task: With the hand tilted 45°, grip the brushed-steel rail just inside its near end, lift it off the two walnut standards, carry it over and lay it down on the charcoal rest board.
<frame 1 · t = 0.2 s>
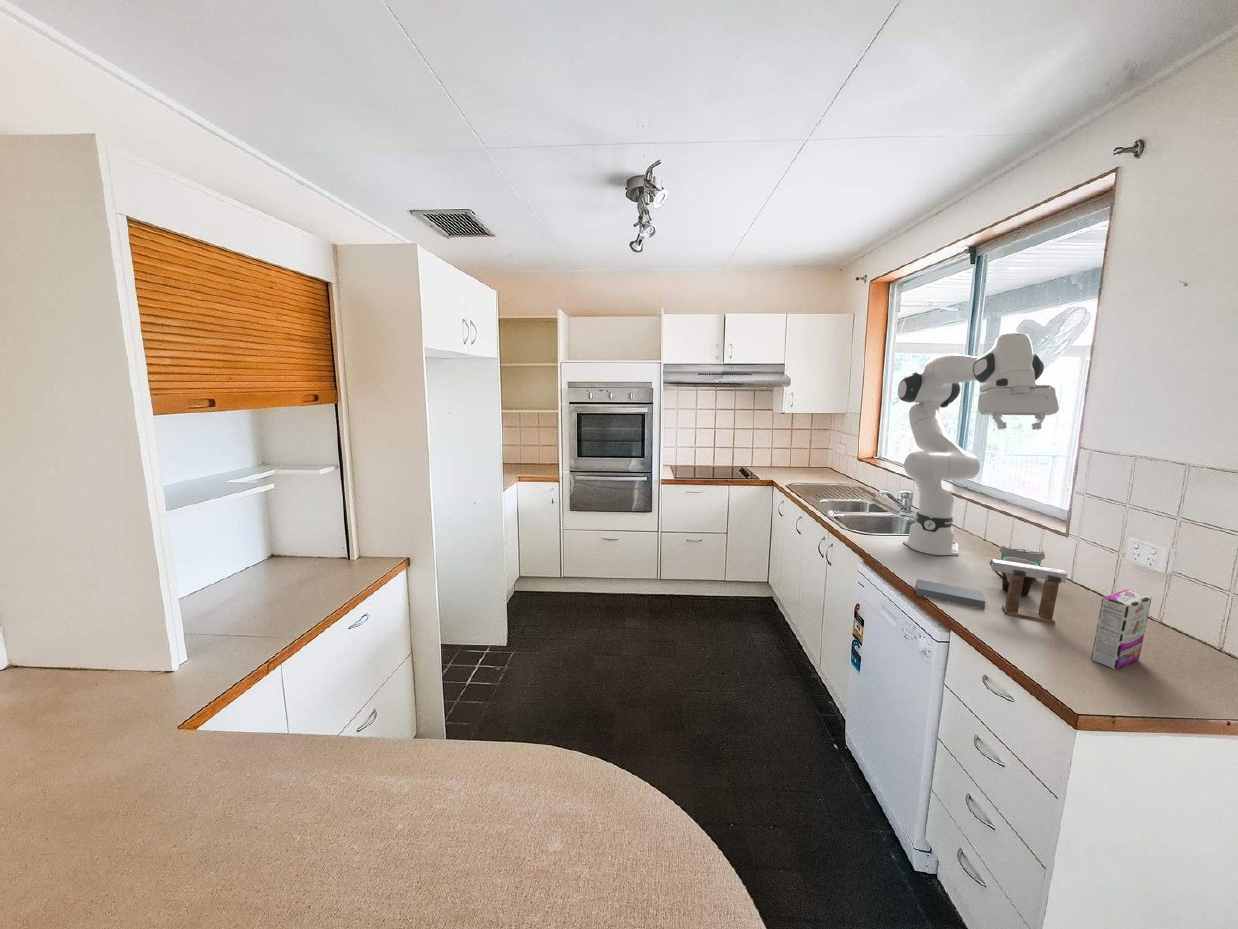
hand: (1019, 429, 145), 52 cm above the worktop, tool tilted 20°, fingers open, 8 cm apart
board: (948, 597, 149), on the worktop
food container: (1020, 579, 164), on the worktop
coffee mug: (1011, 590, 155), on the worktop
rail: (1026, 574, 137), point 12 cm above the worktop, touching standards
standards: (1027, 615, 138), on the worktop
candy bar box: (1113, 661, 117), on the worktop
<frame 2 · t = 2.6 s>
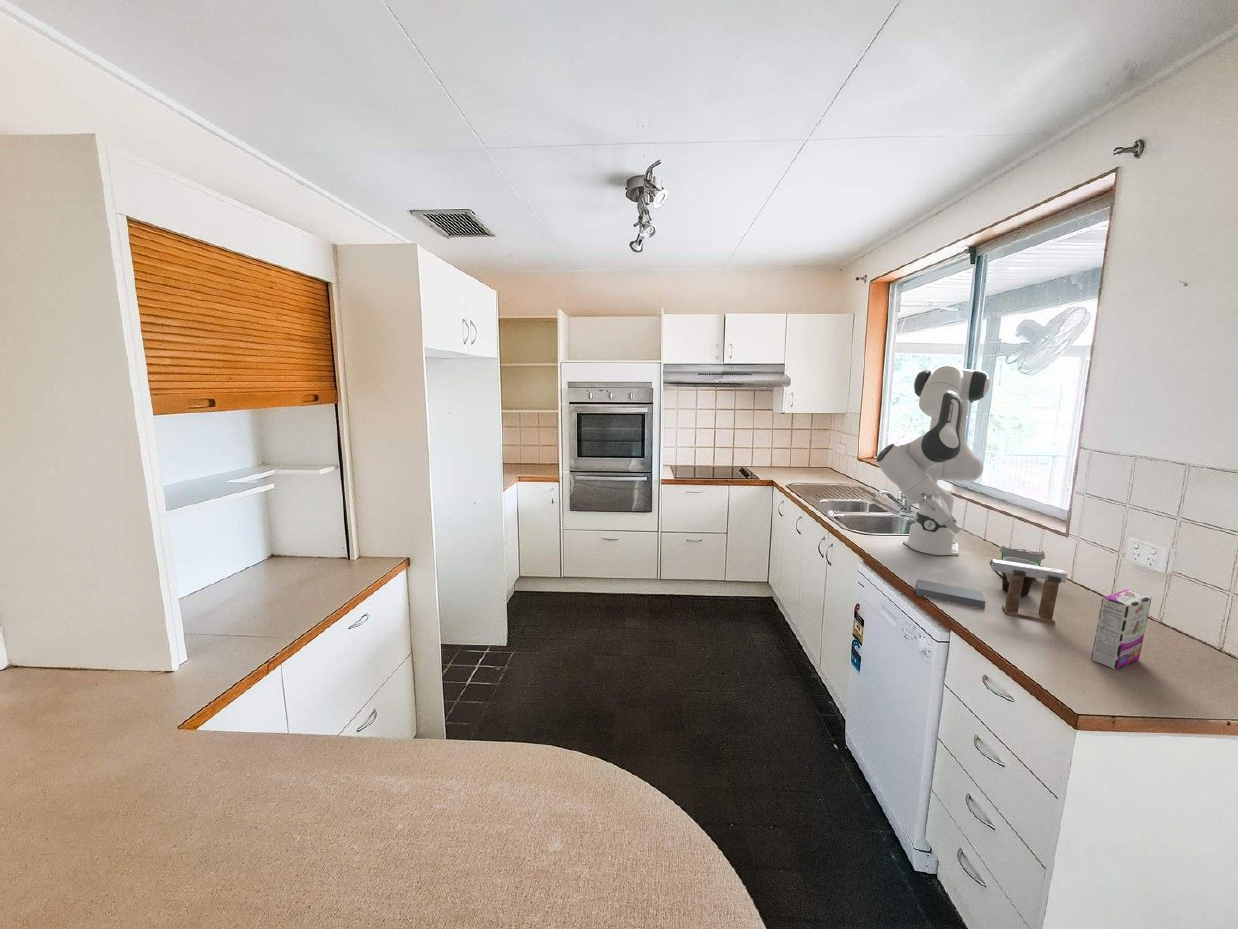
hand: (956, 527, 144), 23 cm above the worktop, tool tilted 45°, fingers open, 8 cm apart
nothing on the worktop moved.
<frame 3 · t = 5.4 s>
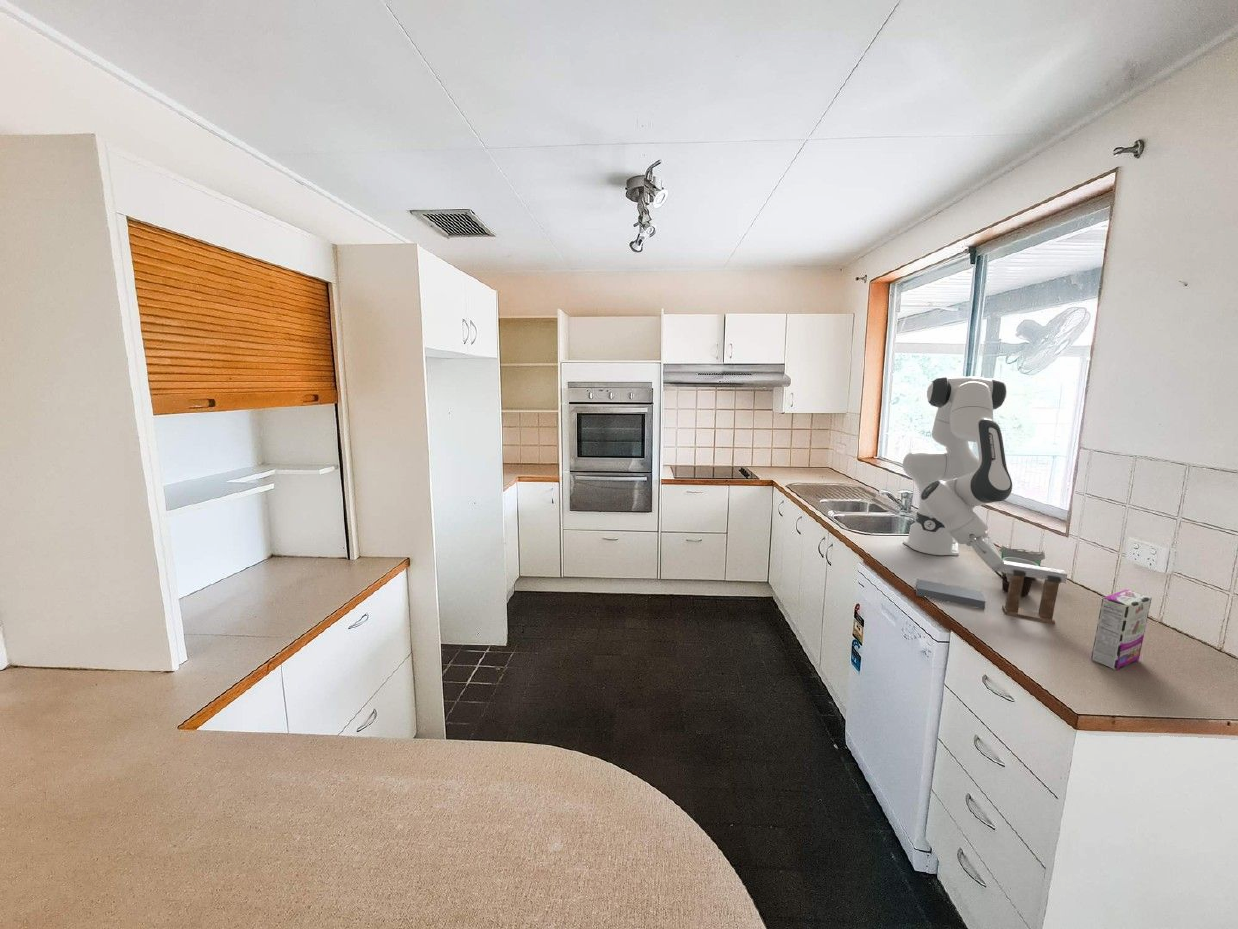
hand: (1005, 569, 139), 13 cm above the worktop, tool tilted 45°, fingers closed on rail, 3 cm apart
rail: (1026, 574, 137), point 12 cm above the worktop, touching gripper, standards
everything else where it was.
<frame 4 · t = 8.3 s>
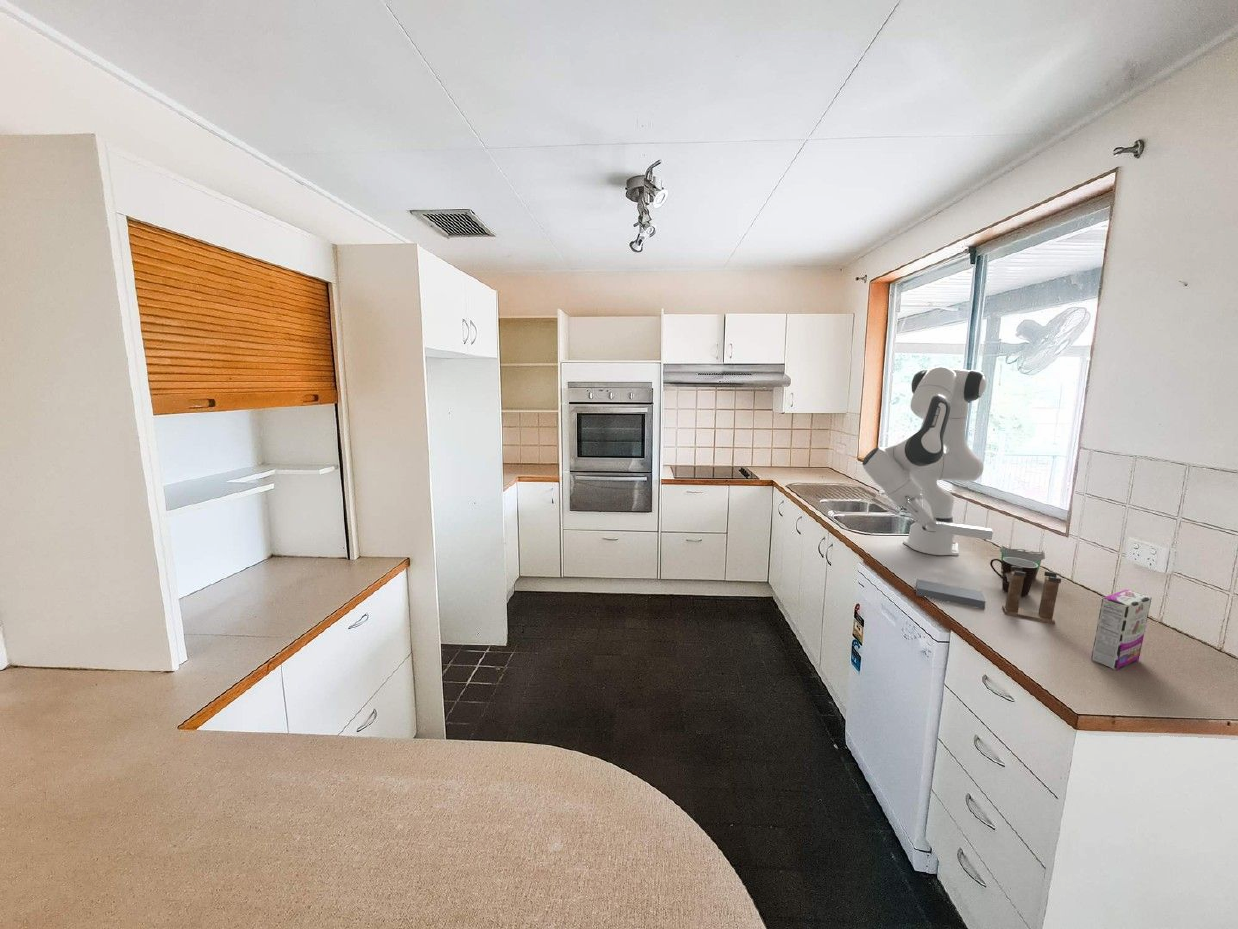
hand: (938, 528, 148), 21 cm above the worktop, tool tilted 45°, fingers closed on rail, 3 cm apart
rail: (957, 533, 146), point 20 cm above the worktop, touching gripper
everything else where it was.
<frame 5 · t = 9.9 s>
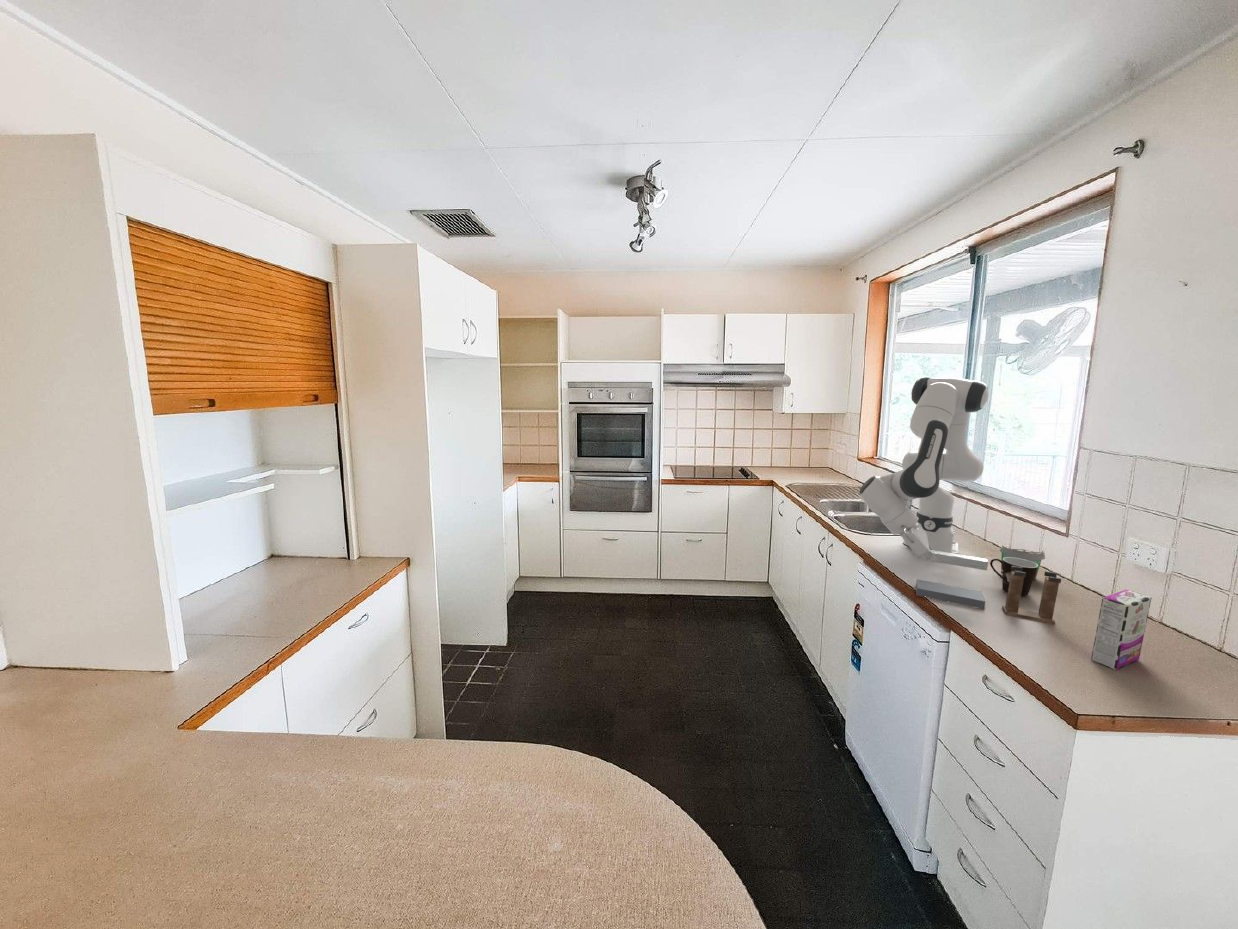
hand: (934, 558, 149), 12 cm above the worktop, tool tilted 45°, fingers closed on rail, 3 cm apart
rail: (953, 563, 147), point 11 cm above the worktop, touching gripper
everything else where it was.
when the fingers open (5 cm above the worktop, at t = 11.5 s): rail drops 1 cm, resting on board.
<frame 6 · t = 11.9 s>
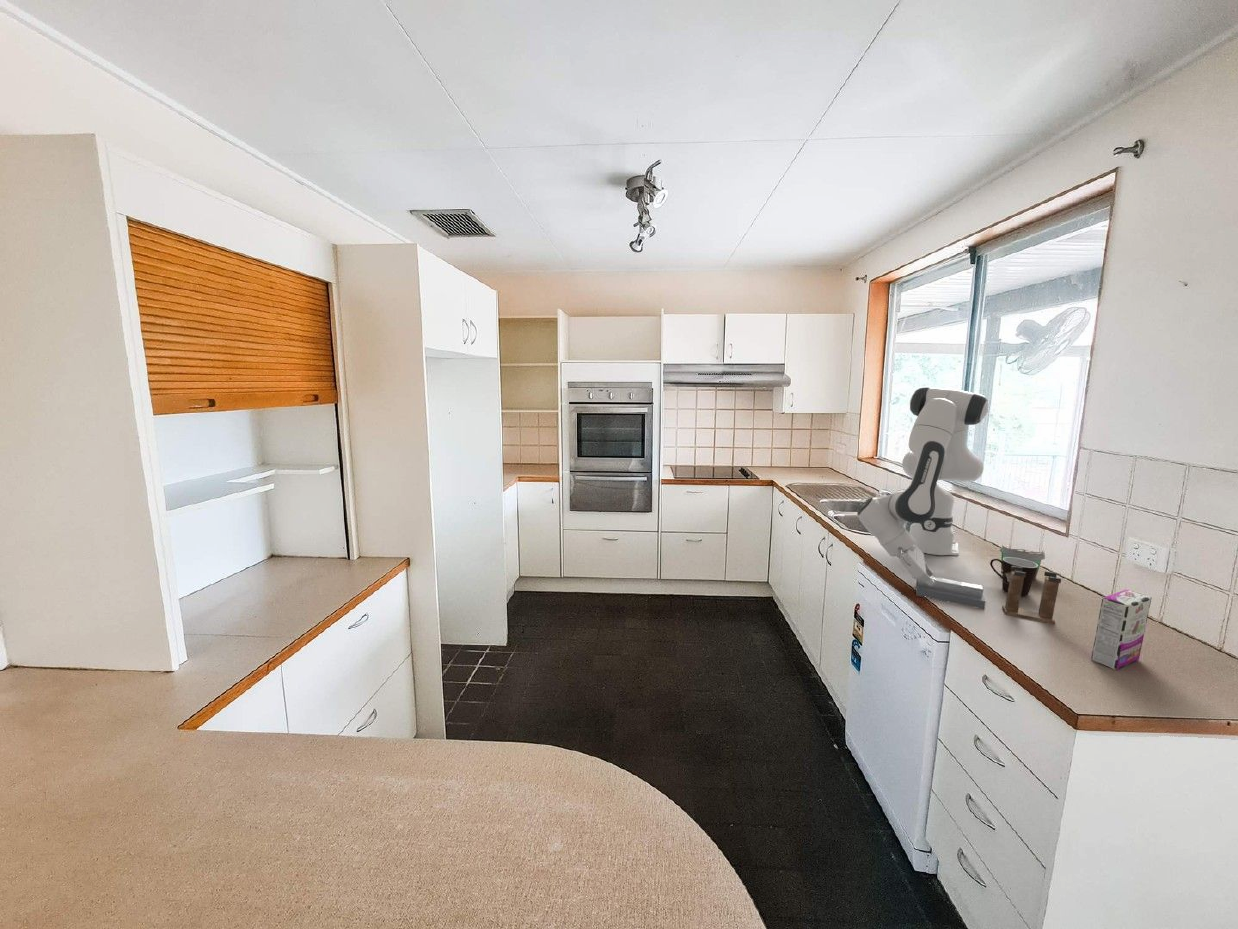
hand: (931, 579, 151), 5 cm above the worktop, tool tilted 45°, fingers open, 7 cm apart
rail: (949, 589, 149), point 2 cm above the worktop, touching board
everything else where it was.
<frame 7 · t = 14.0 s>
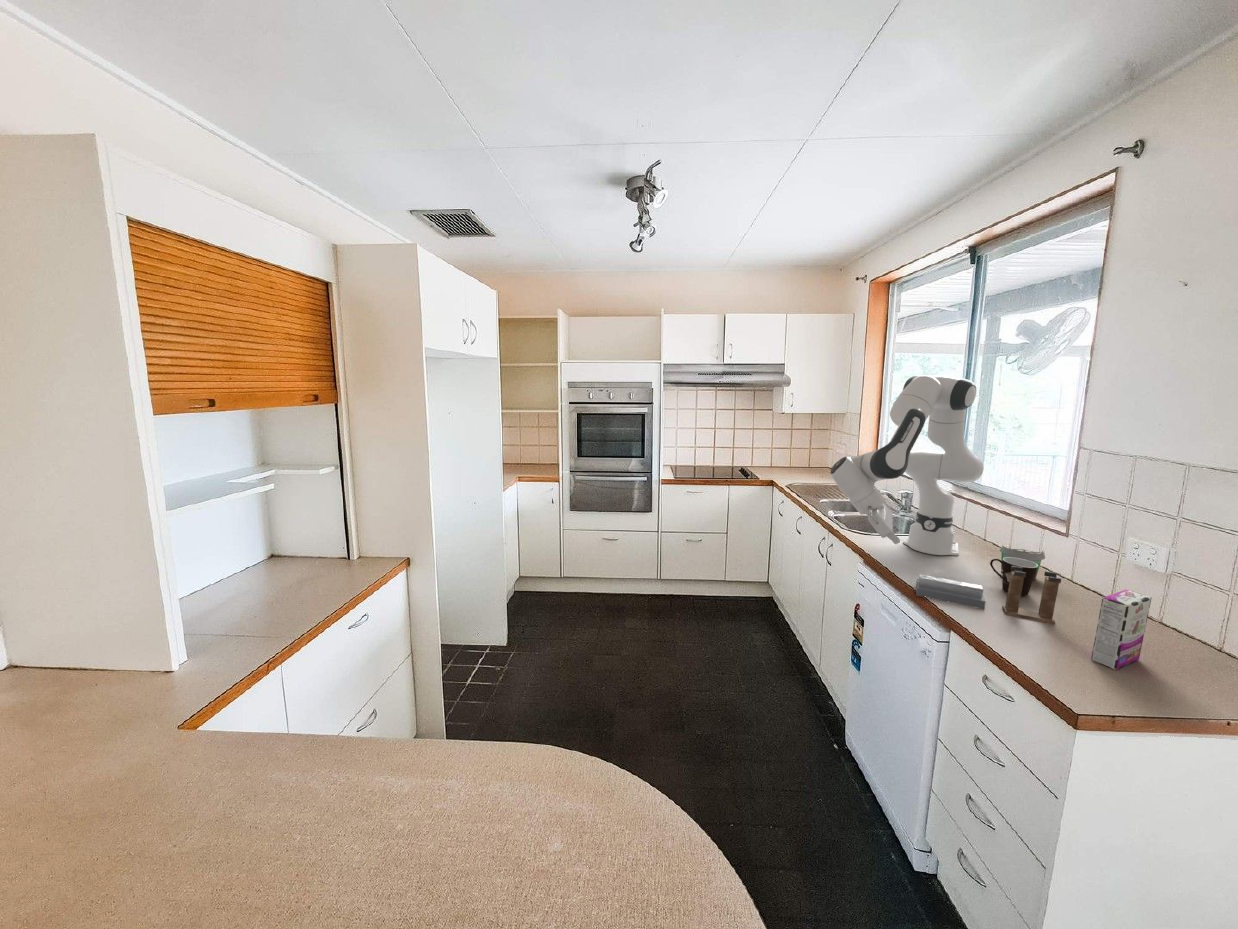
hand: (897, 537, 155), 16 cm above the worktop, tool tilted 40°, fingers open, 8 cm apart
nothing on the worktop moved.
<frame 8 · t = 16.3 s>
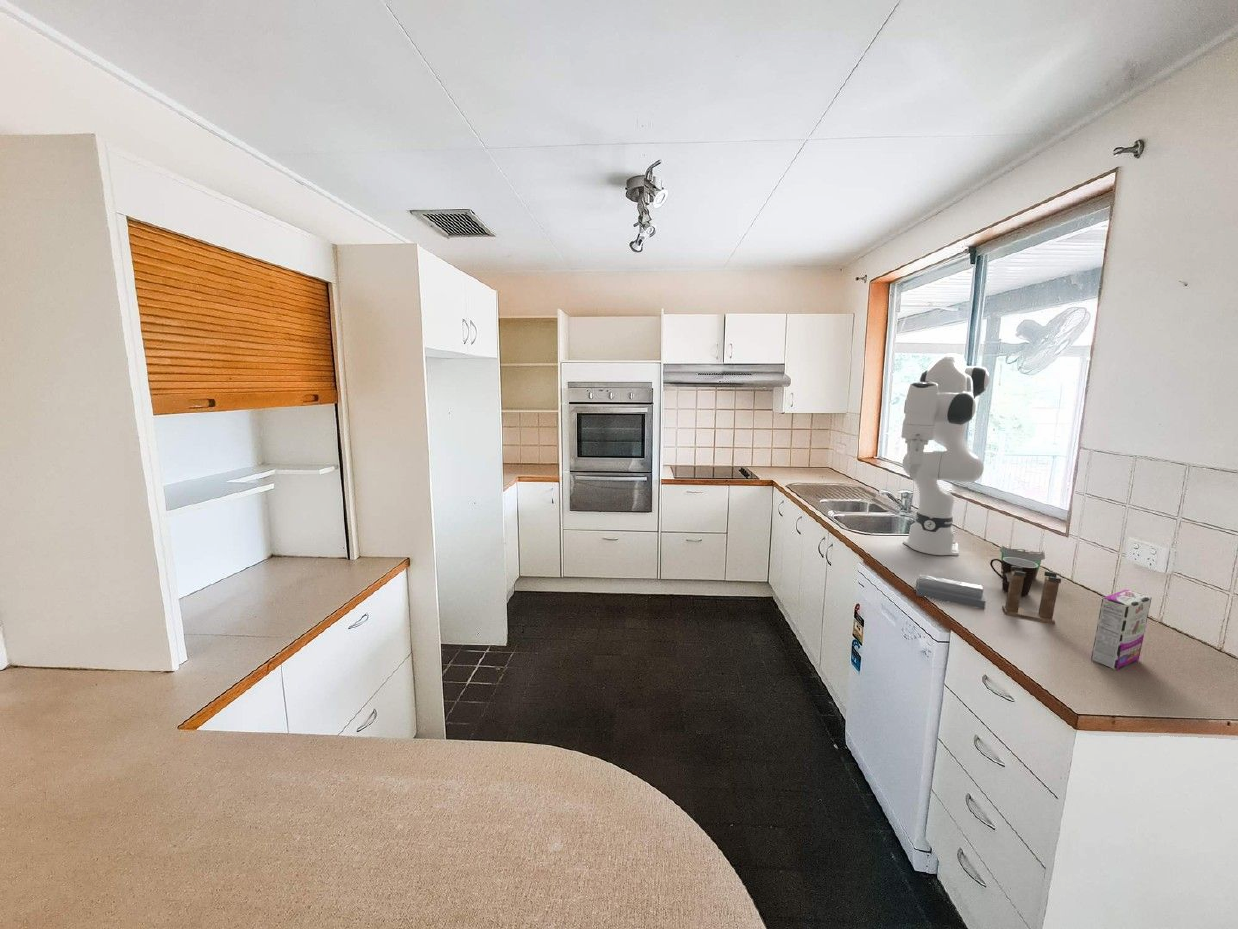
hand: (912, 475, 157), 35 cm above the worktop, tool pointing down, fingers open, 8 cm apart
nothing on the worktop moved.
at the end: rail inside the target area on the board (0.1 cm from its centre), point 2.4 cm above the board's base; rail point 2.4 cm above the worktop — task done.
